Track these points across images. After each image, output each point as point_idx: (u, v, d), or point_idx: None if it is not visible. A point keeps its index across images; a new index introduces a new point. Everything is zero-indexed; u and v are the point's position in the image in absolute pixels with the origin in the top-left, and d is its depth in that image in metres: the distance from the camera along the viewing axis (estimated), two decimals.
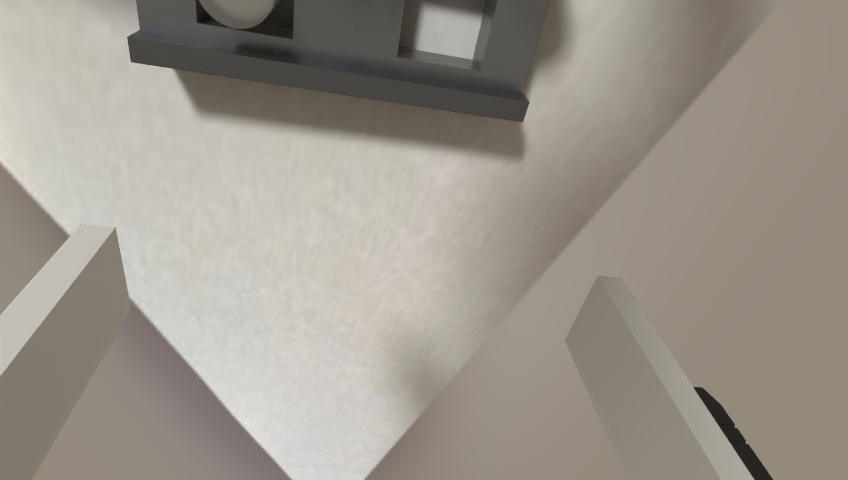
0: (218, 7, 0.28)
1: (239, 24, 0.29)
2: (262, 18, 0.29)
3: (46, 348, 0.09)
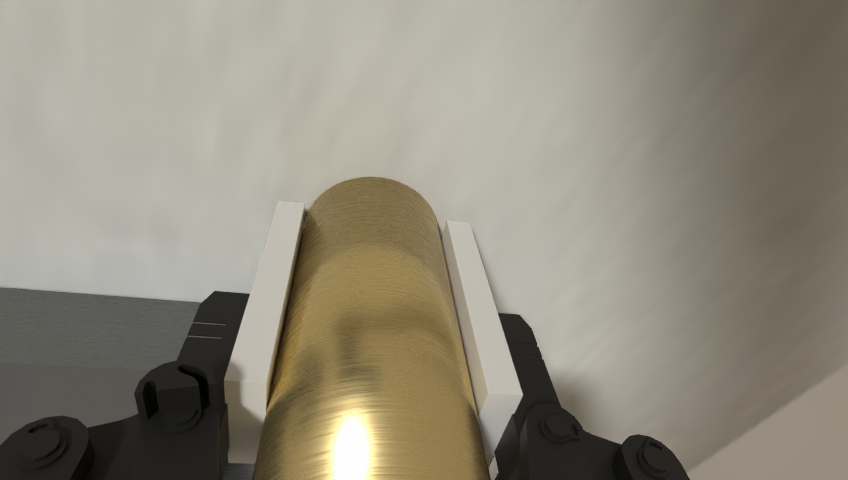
0: None
1: None
2: None
3: (288, 294, 0.12)
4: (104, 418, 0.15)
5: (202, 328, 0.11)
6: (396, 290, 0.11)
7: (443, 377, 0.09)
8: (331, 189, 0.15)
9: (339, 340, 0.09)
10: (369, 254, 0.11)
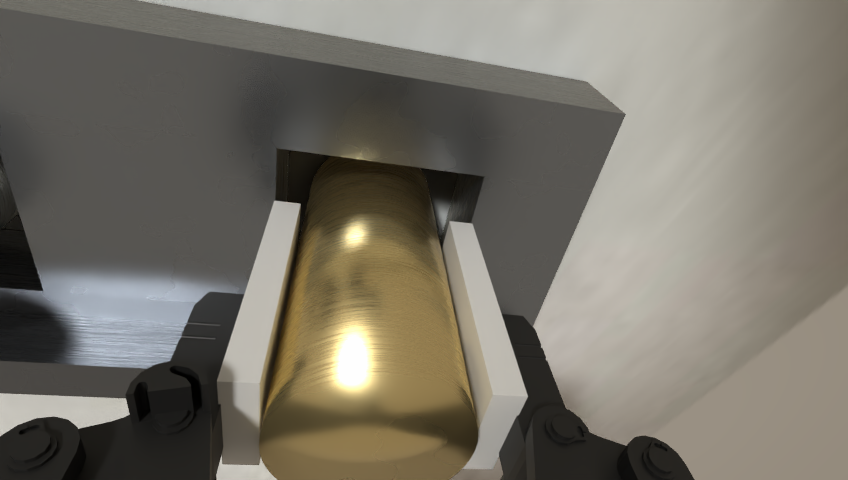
0: None
1: None
2: None
3: (283, 294, 0.12)
4: (191, 136, 0.13)
5: (196, 329, 0.11)
6: (391, 228, 0.13)
7: (428, 292, 0.11)
8: None
9: (343, 263, 0.11)
10: (368, 202, 0.14)
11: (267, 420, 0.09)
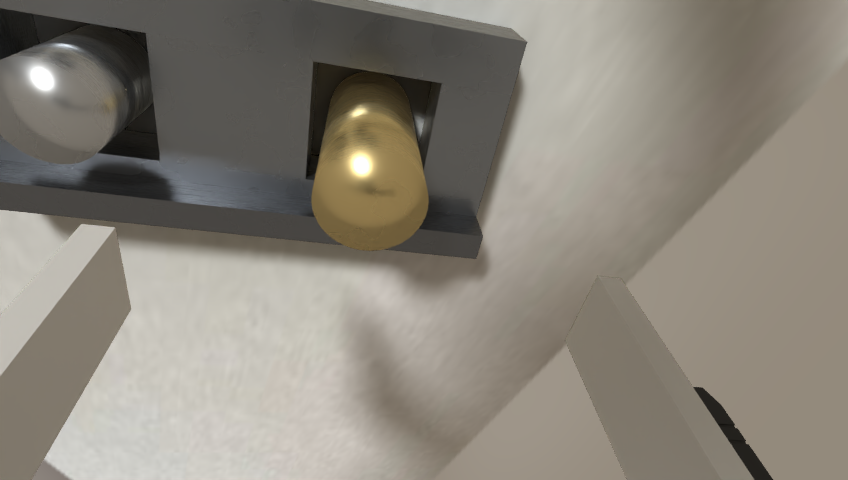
0: (27, 138, 0.20)
1: (62, 158, 0.20)
2: (94, 151, 0.20)
3: (46, 348, 0.09)
4: (262, 52, 0.22)
5: None
6: (383, 105, 0.21)
7: (403, 132, 0.20)
8: (346, 78, 0.25)
9: (354, 117, 0.20)
10: (369, 94, 0.22)
11: (317, 177, 0.18)
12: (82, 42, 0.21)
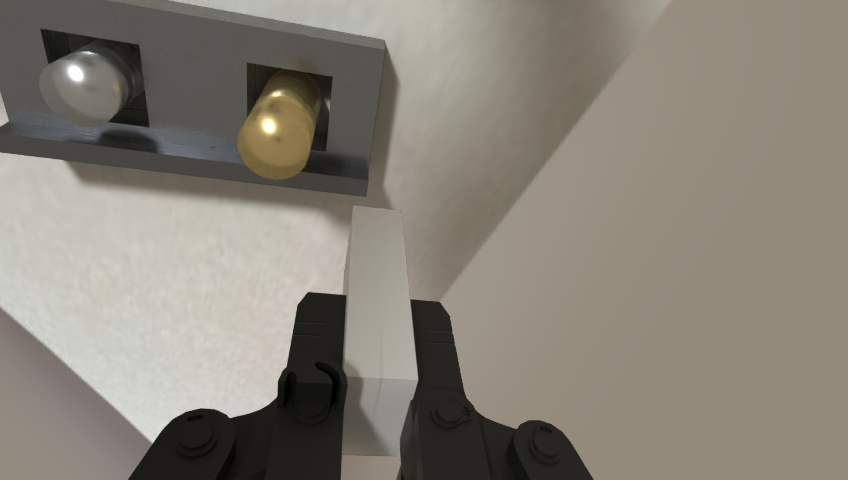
0: (66, 110, 0.32)
1: (87, 123, 0.33)
2: (107, 118, 0.33)
3: None
4: (213, 56, 0.34)
5: (305, 327, 0.11)
6: (289, 91, 0.34)
7: (297, 107, 0.32)
8: (275, 73, 0.38)
9: (268, 97, 0.32)
10: (283, 84, 0.34)
11: (239, 132, 0.30)
12: (99, 50, 0.33)
